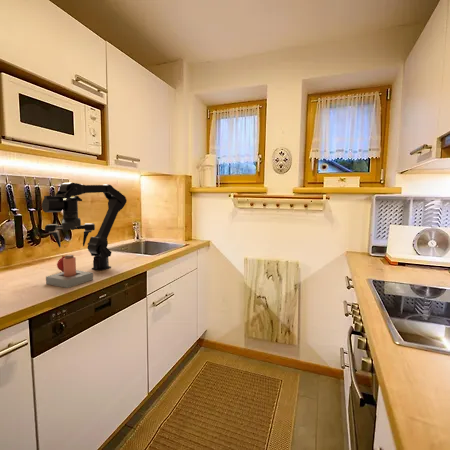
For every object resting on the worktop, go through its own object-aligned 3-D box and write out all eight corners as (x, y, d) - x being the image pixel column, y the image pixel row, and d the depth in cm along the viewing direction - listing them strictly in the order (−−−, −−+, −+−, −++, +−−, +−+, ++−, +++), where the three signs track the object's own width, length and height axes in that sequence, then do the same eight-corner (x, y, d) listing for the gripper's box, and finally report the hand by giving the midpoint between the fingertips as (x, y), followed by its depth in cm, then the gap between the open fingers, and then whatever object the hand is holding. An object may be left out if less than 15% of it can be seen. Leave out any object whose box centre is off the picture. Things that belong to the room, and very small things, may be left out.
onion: (69, 269, 130) (68, 253, 129) (74, 272, 126) (73, 255, 125) (55, 272, 125) (54, 255, 124) (60, 274, 122) (59, 257, 121)
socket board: (72, 276, 119) (72, 269, 119) (93, 279, 115) (92, 272, 115) (46, 283, 108) (45, 276, 108) (67, 287, 104) (66, 280, 104)
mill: (67, 280, 114) (65, 254, 113) (78, 279, 114) (77, 254, 113) (62, 283, 109) (61, 256, 108) (73, 283, 110) (72, 256, 109)
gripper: (40, 212, 107) (42, 251, 108) (93, 212, 114) (94, 248, 116) (46, 211, 117) (48, 246, 119) (94, 211, 124) (95, 244, 126)
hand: (71, 246), depth 119 cm, fingers open, 9 cm apart
